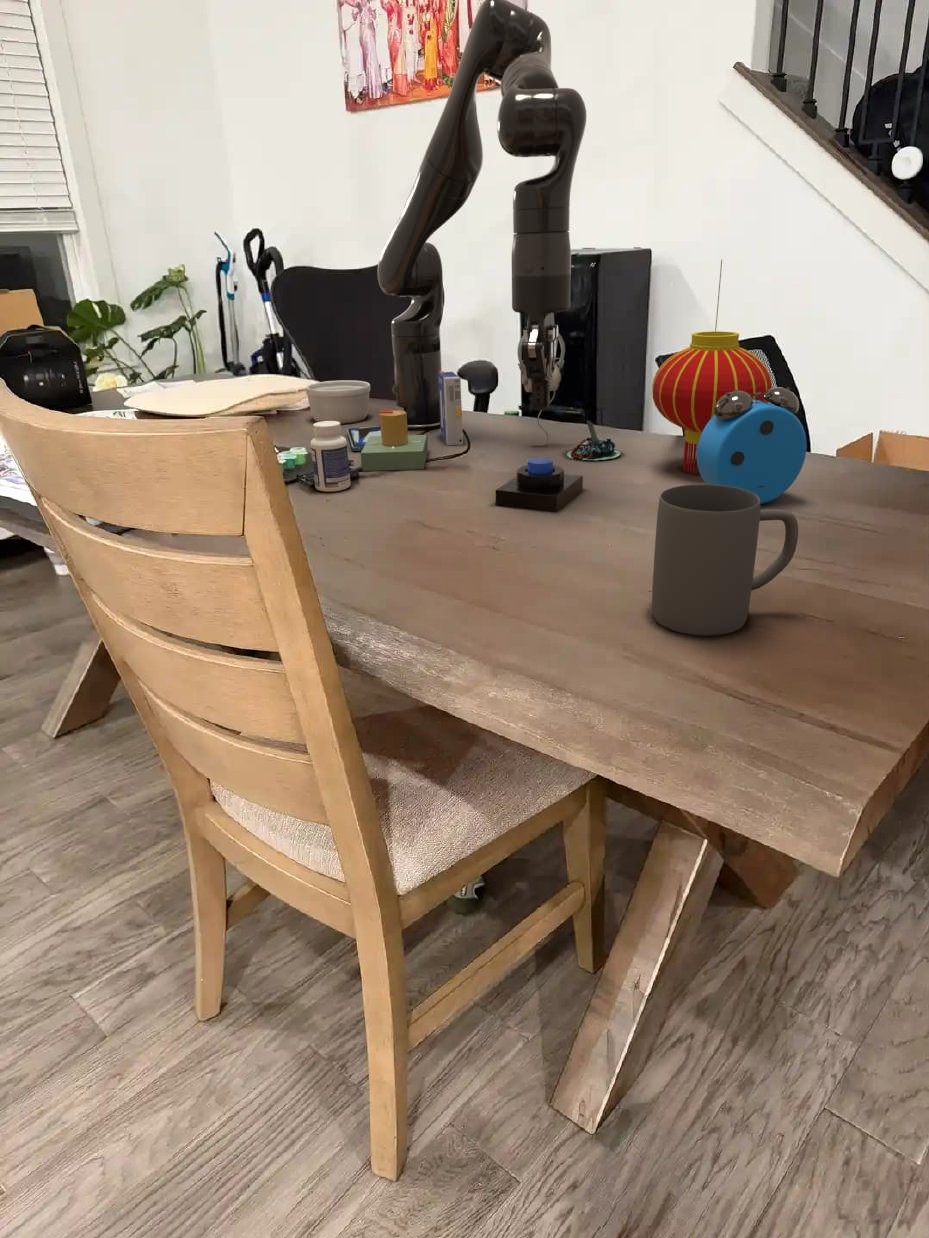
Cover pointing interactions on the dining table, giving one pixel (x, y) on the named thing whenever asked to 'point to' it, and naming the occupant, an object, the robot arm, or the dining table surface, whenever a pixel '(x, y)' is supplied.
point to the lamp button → (540, 466)
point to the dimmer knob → (393, 428)
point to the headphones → (553, 382)
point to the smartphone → (362, 436)
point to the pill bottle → (330, 457)
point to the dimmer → (394, 454)
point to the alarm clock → (753, 443)
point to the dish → (594, 448)
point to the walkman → (450, 408)
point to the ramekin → (339, 400)
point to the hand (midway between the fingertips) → (540, 409)
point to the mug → (711, 557)
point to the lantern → (705, 382)
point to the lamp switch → (539, 490)
